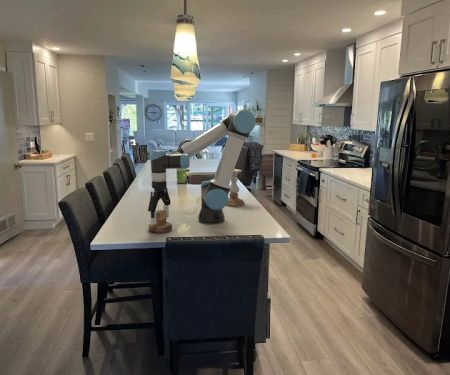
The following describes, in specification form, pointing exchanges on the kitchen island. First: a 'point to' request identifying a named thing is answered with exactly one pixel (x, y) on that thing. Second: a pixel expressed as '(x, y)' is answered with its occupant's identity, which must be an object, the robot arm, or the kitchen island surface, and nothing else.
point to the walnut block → (160, 218)
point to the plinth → (160, 228)
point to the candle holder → (234, 191)
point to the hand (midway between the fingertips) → (160, 220)
